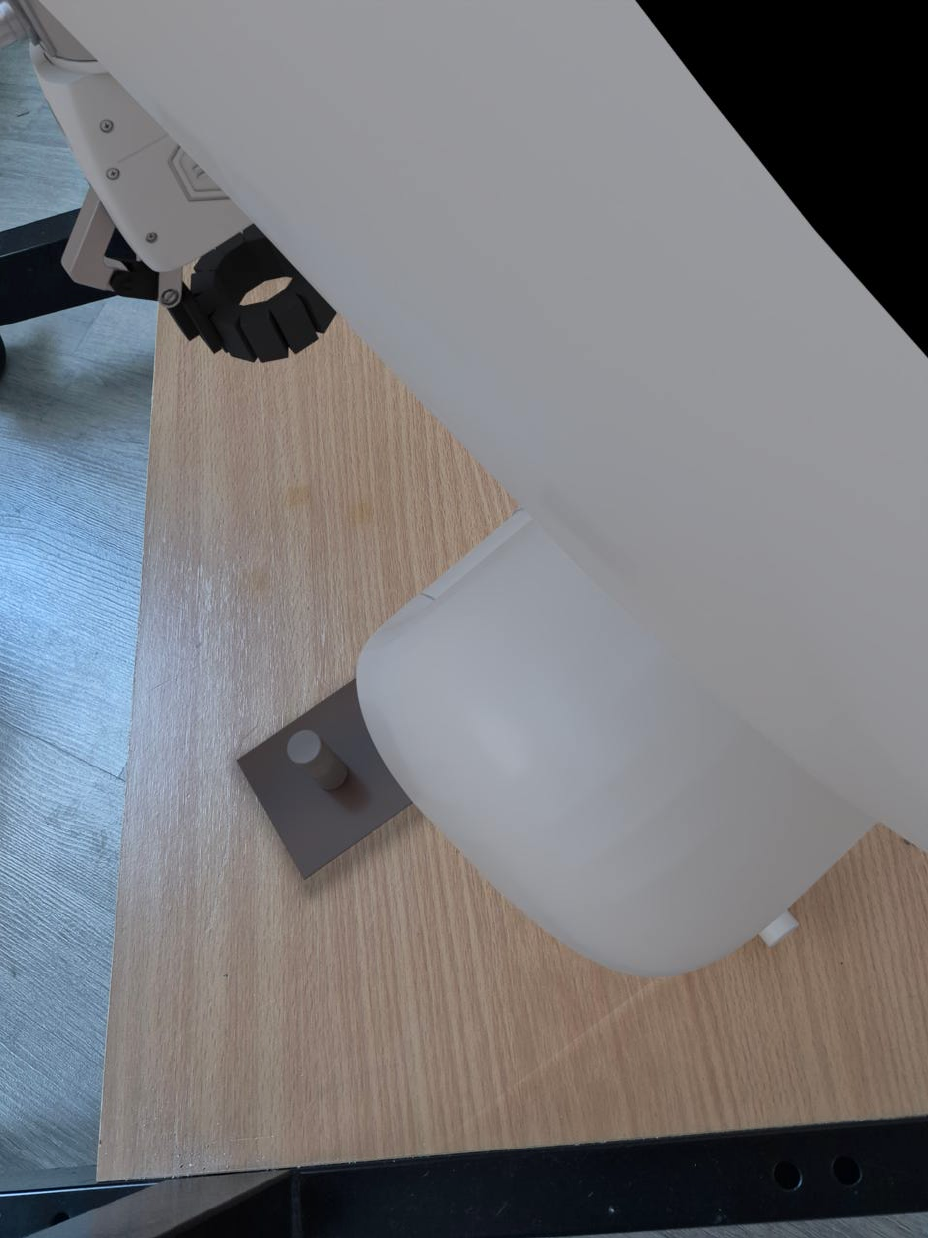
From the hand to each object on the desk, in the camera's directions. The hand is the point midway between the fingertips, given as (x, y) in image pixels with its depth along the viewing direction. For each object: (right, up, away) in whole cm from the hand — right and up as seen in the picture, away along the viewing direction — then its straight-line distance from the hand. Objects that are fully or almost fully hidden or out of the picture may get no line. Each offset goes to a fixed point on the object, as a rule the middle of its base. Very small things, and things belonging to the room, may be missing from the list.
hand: (268, 295), depth 55 cm
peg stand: (+3, -28, +6) cm, 29 cm away
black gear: (0, 0, +1) cm, 1 cm away
